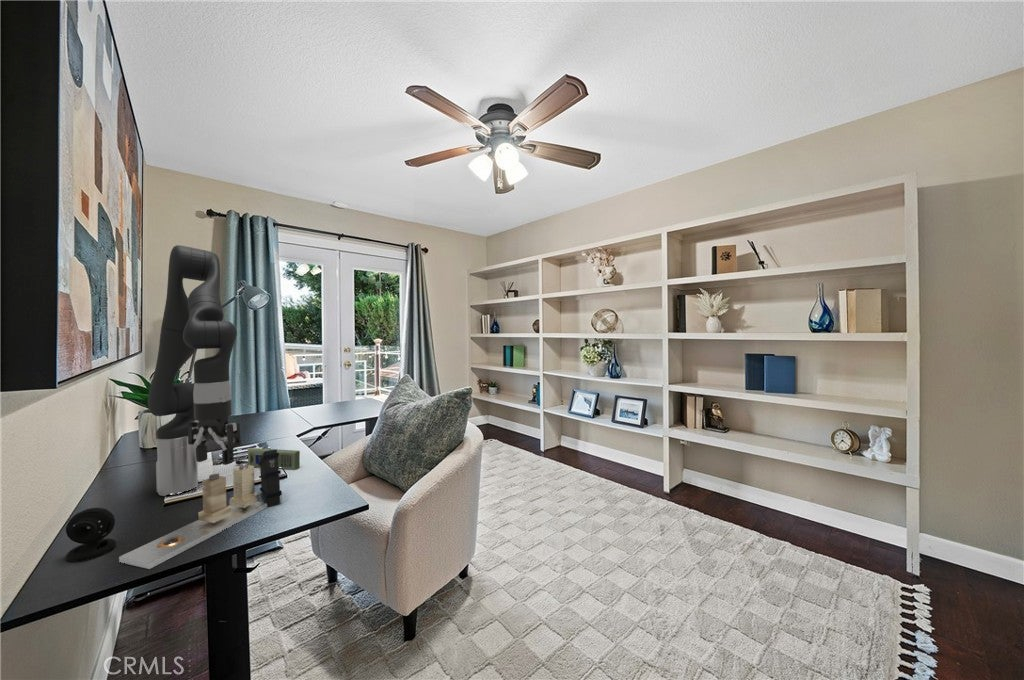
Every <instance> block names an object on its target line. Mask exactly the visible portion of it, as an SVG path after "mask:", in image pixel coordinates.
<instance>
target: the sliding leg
mask: <svg viewBox="0 0 1024 680" xmlns="http://www.w3.org/2000/svg"><path fill="white" fill-rule="evenodd" d="M201 481H202V486H201V487H202V510H201V511H199V512H198V513H197V514H198V520H199V521H205V522H211V523H215V522H217V521H219V520H221V519H223V518H225V517H227V516H229V515H231V507H228V506H229V505H227V478H226V476H222V475H220V474H219V473H212V474H210V475H208V478H207V479H204V480H201Z"/></svg>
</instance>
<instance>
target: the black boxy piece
mask: <svg viewBox="0 0 1024 680" xmlns="http://www.w3.org/2000/svg"><path fill="white" fill-rule="evenodd" d="M274 449H275V448H274ZM278 456H279V453H277V449H275V450H270V451H265V452H264V453H263V454H262V456H261V457H260V458H259V460H260V461H259V462H258V465H260V468H259V469H260V470H259V471H260V475H259V476H258V477H259V479H260V484H261V485H260V487H259V490H260V493H261V496H262V498H263V500H264V501H265V502H264V503H267V508H268V507H269V508H270V507H273V506H277V505H280V504H281V496H282V495H283V492H282V490H281V484H280V475H281V470H282V469H279V467H278Z"/></svg>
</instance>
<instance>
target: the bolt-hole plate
mask: <svg viewBox="0 0 1024 680" xmlns="http://www.w3.org/2000/svg"><path fill="white" fill-rule="evenodd" d="M238 465H239V466H238V467H237V468H233V469H232V476H233V477H232V479H233V497H230V498H229V505H227V506H228V507H231V515H229V516H227V517H225V518H223V519H221V520H219V521H217V522H215V523H211V522H205V521H199V519H198V520H195V521H192V522H190V523H188V524H186V525H184V526H182V527H180V528H178V529H176V530H174V531H171V532H170V533H167V534H165V535H163V536H161V537H158V538H157V539H154V540H152V541H150V542H148V543H146V544H143V545H141V546H140V547H137V548H135V549H133V550H131V551H129V552H126V553H124V554H122V555H120V556H118V562H119V563H120V562H121V564H124V563H125V564H126V565H130V566H133V567H134V566H135V567H138V568H142V569H147V570H151V569H152V568H154V567H156V566H158V565H160V564H163V563H164V562H166V561H168V560H169V559H171V558H173V557H175V556H178V555H179V554H181V553H183V552H184V551H187V550H188V549H191V548H192V547H194V546H197V545H198V544H200V543H202V542H204V541H206V540H208V539H210V538H211V537H213V536H215V535H217V534H219V533H221V532H223V531H225V530H227V529H229V528H231V527H233V526H234V524H235V525H236V523H237V524H238V523H240V522H242V521H245V520H246V519H248V518H250V517H252V516H253V515H256V514H257V513H260V512H262V511H263V510H265V509H266V508H268V505H267V503H266V502H263V501H260V495H259V493H255V491H256V490H255V467H254V466H251V465H248V463H242V464H238ZM232 525H233V526H232ZM226 528H227V529H226ZM224 529H225V530H224ZM222 530H223V531H222Z"/></svg>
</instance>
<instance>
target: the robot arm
mask: <svg viewBox="0 0 1024 680" xmlns="http://www.w3.org/2000/svg"><path fill="white" fill-rule="evenodd" d="M168 260H169V261H168V271H167V273H168V274H167V287H166V288H167V289H166V299H165V304H164V310H163V311H164V312H163V315H162V321H161V327H160V333H159V334H160V335H159V345H158V352H157V360H156V364H155V369H154V371H153V377H152V379H151V383H150V387H149V390H148V396H147V408H148V410H149V412H150V413H151V415H153V416H155V417H163V416H170V415H175V416H174V417H173V418H172V419H170V420H169V422H166V423H165V424H163V425H161V426H159V428H157V430H156V448H157V449H156V455H157V461H156V462H155V470H156V471H155V473H156V474H155V475H156V493H158V494H157V495H159V496H162V497H167V496H166V495H167V494H170V493H178V492H184V491H187V490H190V489H193V488H195V487H197V488H198V486H199V479H198V478H199V477H198V475H199V470H198V463H202V462H205V461H207V460H208V445H207V444H208V443H209V440H211V441H215V443H216V444H218V445H219V446H220V447H221V449H222V450H221V454H222V455H221V456H222V457H221V458H222V465H224V466H226V465H230V464H233V462H234V460H235V458H234V454H235V453H234V448H236V447H240V446H241V442H242V441H241V429H240V422H238V421H237V422H231V423H230V421H229V418H230V417H231V416H232V413H233V411H232V410H233V409H232V408H233V406H232V387H231V383H230V361H231V356H232V353H233V348H234V346H235V343H236V340H237V336H238V335H237V334H238V333H237V328H236V326H235V325H234V324H233V323H232V322H231V321H228V320H224V311H223V310H224V309H223V305H222V301H221V263H220V258H219V256H218V255H217V254H216V253H215V252H213V251H210V250H205V249H200V248H195V247H191V246H187V245H186V246H185V245H181V244H180V245H176V244H175V245H174V246H173V248H172V249H171V251H170V254H169V259H168ZM184 279H185V280H186V279H188V280H194V281H200V282H202V283H201V284H199V285H198V286H196V287H195V288H194V289H192V290H191V292H190V293H189V294H188V296H187V294H186V291H185V288H184V282H183V281H184ZM199 349H200V350H205V349H206V350H207V349H208V350H209V349H210V350H213V349H218V352H216V354H215V355H212V356H208V357H204V358H200V359H197V360H196V361H194V363H193V383H192V382H178V383H175V380H176V377H177V376H178V374H179V372H180V370H181V368H182V367H183V366H184V365H185V363H187V362H188V361H189V359H190V358H191V357H192V356H193V355H194V354H195V353H196V351H197V350H199ZM195 489H196V488H195ZM193 490H194V489H193Z"/></svg>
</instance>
